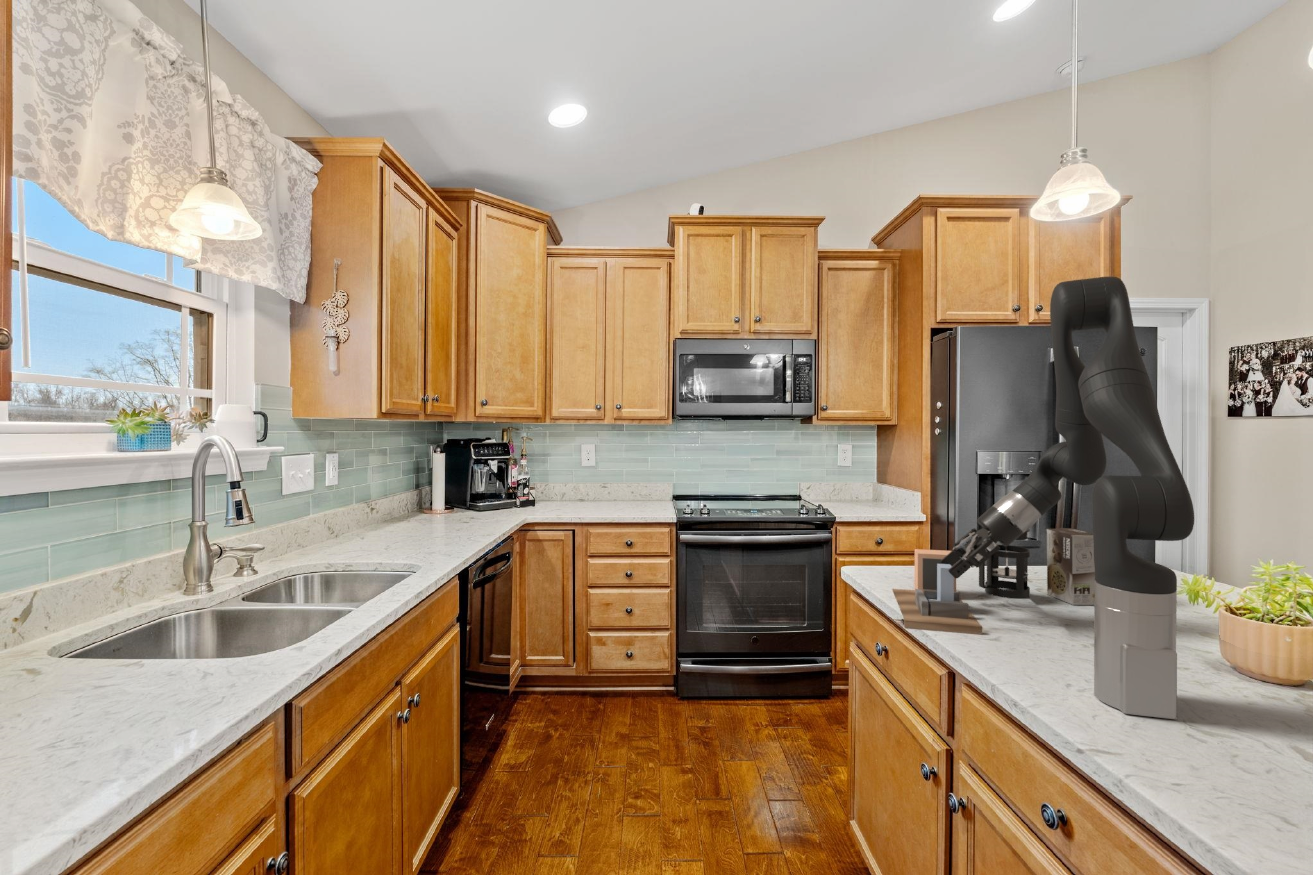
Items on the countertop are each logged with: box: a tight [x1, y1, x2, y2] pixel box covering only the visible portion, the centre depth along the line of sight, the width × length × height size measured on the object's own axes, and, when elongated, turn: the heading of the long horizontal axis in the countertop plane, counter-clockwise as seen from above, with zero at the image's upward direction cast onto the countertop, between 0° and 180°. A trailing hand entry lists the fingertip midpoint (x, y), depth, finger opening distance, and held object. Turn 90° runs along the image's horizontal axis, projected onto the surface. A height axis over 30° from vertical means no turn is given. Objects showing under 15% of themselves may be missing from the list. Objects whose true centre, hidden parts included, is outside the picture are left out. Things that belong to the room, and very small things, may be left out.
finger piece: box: [928, 564, 959, 609], centre depth 122 cm, size 5×6×10 cm
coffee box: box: [1046, 527, 1095, 606], centre depth 134 cm, size 9×6×16 cm
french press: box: [978, 528, 1031, 600], centre depth 135 cm, size 12×9×23 cm
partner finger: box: [914, 548, 957, 593], centre depth 133 cm, size 6×8×10 cm
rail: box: [891, 588, 983, 635], centre depth 126 cm, size 24×14×4 cm, turn 163°
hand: (947, 570), depth 122 cm, fingers open, 8 cm apart
